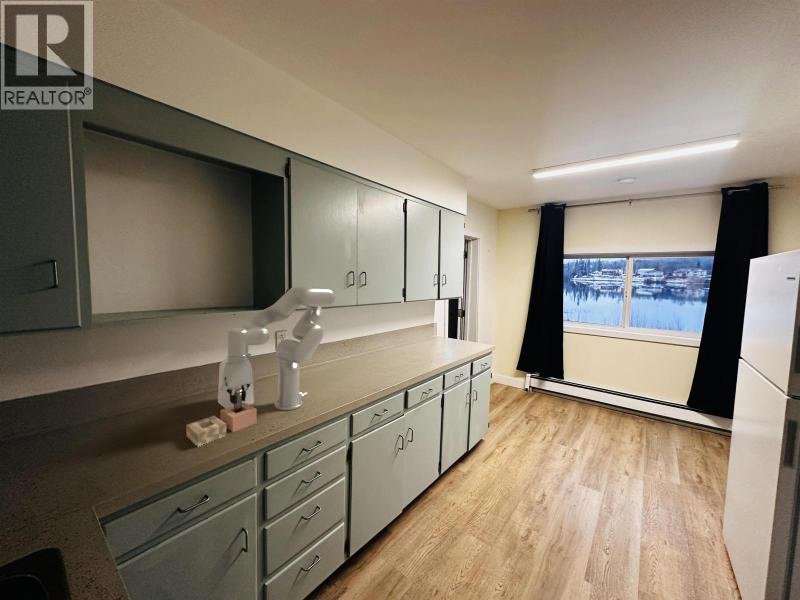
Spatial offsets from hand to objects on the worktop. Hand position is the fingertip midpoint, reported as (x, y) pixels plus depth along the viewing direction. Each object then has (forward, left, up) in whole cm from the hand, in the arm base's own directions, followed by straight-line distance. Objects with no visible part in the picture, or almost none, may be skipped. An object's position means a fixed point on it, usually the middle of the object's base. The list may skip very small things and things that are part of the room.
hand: (237, 401), depth 134 cm
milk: (-9, -20, -10) cm, 24 cm away
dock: (0, 0, -10) cm, 10 cm away
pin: (0, 0, -6) cm, 6 cm away
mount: (+13, +1, -10) cm, 16 cm away
